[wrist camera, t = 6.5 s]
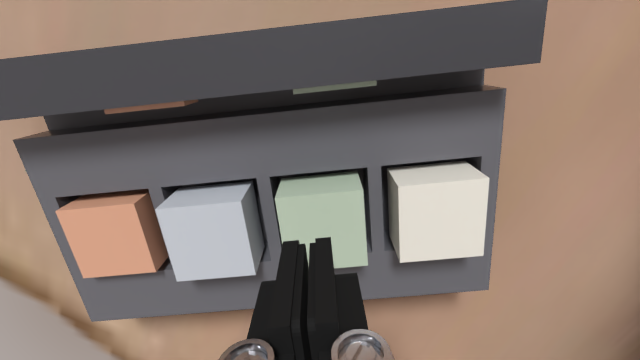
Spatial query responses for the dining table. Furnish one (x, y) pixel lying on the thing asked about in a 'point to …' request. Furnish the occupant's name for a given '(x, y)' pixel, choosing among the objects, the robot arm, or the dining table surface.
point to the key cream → (437, 211)
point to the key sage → (325, 214)
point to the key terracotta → (114, 233)
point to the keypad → (272, 132)
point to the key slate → (212, 231)
